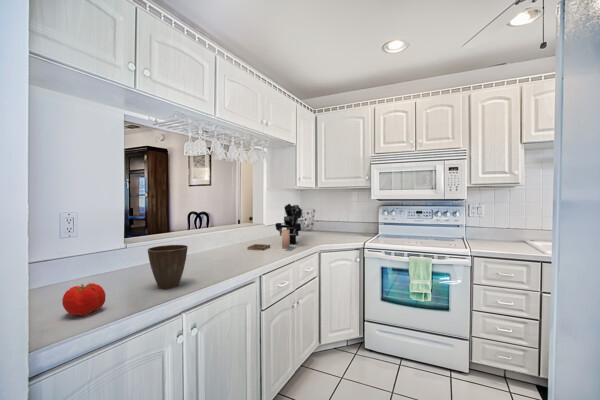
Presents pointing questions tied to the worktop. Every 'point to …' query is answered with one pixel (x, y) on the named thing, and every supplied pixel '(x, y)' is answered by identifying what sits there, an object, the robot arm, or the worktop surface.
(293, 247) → the slate-blue mat
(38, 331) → the worktop surface
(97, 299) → the tomato
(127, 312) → the worktop surface
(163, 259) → the plant pot
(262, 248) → the walnut puzzle board
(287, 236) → the terracotta peg
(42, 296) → the worktop surface
